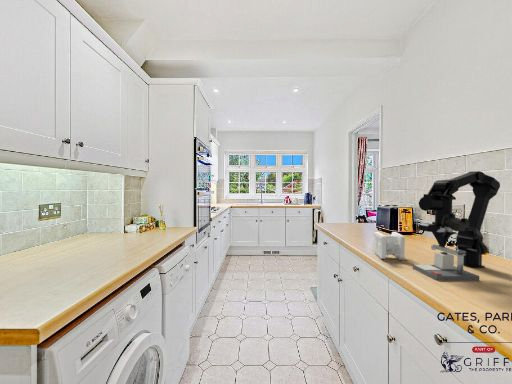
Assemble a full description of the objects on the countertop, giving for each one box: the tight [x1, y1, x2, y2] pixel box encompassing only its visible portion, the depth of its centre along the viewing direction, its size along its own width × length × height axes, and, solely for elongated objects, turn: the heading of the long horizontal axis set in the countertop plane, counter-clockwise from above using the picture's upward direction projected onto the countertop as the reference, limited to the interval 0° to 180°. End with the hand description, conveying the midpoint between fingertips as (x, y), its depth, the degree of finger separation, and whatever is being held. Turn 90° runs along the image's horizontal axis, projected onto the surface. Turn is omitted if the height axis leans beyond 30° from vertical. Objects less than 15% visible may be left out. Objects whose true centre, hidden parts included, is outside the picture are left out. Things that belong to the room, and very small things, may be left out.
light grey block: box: [433, 251, 455, 269], centre depth 103 cm, size 4×4×6 cm
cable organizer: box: [373, 231, 406, 261], centre depth 124 cm, size 15×11×12 cm
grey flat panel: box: [412, 264, 480, 281], centre depth 100 cm, size 16×14×2 cm
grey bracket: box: [431, 243, 466, 274], centre depth 101 cm, size 3×16×9 cm, turn 1°
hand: (442, 247), depth 107 cm, fingers closed
